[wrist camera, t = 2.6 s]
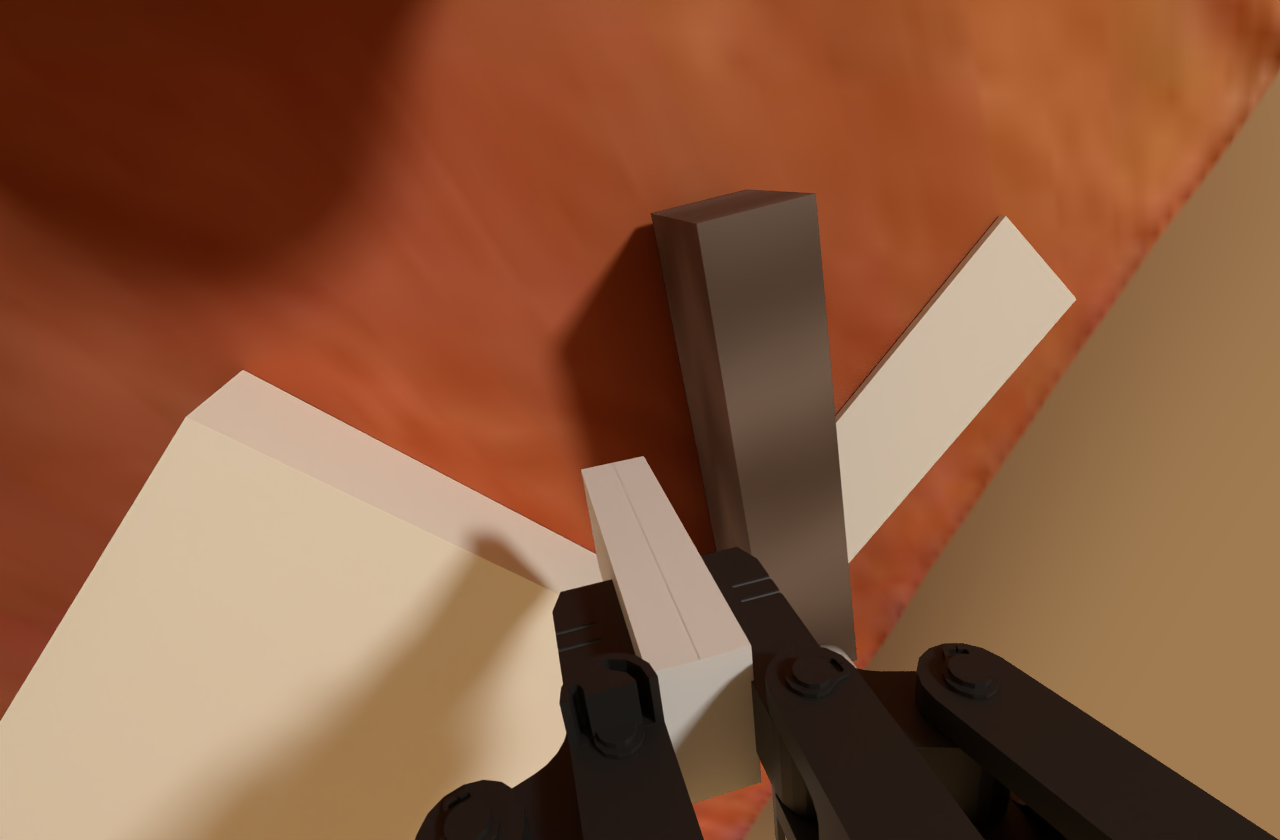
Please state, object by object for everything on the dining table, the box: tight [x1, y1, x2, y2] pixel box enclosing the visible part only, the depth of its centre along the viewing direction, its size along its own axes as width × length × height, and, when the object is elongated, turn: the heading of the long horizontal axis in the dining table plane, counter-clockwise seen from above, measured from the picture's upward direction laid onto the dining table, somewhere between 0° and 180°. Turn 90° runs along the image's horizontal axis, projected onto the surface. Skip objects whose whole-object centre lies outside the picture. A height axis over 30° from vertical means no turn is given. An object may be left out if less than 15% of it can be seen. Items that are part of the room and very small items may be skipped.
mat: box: [835, 215, 1076, 563], centre depth 25 cm, size 5×18×1 cm, turn 143°
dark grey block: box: [651, 190, 857, 668], centre depth 21 cm, size 17×3×6 cm, turn 13°
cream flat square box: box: [0, 370, 603, 840], centre depth 22 cm, size 20×20×4 cm
